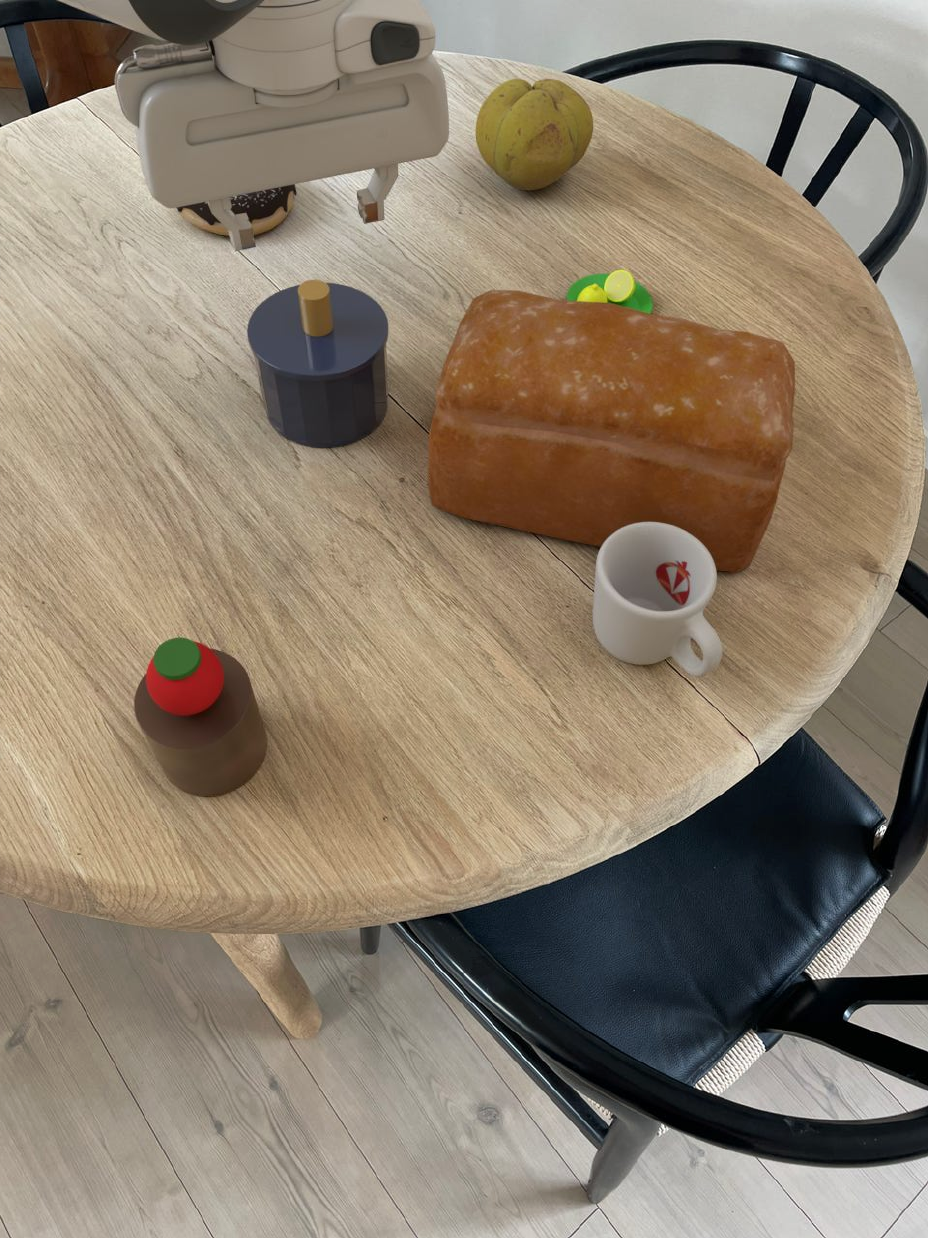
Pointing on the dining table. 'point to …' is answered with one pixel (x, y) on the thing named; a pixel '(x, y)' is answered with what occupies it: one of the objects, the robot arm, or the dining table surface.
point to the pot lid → (317, 331)
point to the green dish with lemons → (612, 291)
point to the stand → (208, 736)
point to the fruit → (533, 131)
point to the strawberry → (184, 677)
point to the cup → (655, 597)
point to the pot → (326, 405)
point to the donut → (246, 210)
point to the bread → (610, 423)
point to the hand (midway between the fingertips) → (308, 230)
